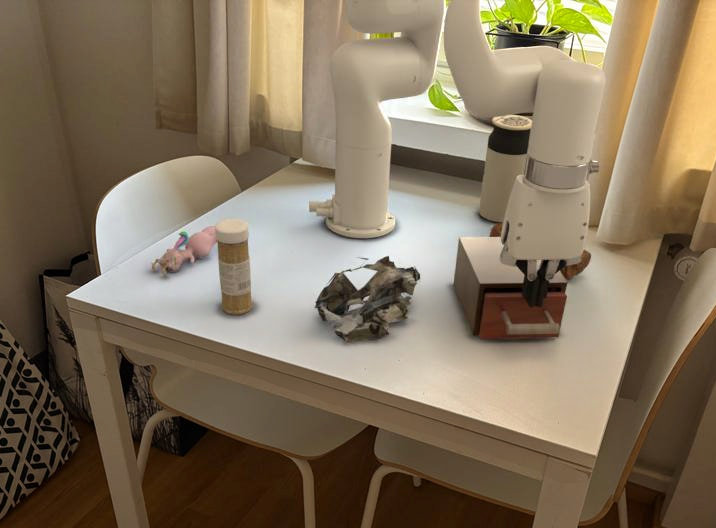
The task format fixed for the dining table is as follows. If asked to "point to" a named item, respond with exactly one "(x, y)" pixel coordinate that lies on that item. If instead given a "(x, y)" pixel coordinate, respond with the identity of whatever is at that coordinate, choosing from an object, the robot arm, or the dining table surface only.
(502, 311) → the drawer
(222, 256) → the sprinkles bottle
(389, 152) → the robot arm
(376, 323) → the foil
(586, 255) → the bread
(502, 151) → the travel mug
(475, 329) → the wooden drawer cabinet
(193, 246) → the rabbit figure
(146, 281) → the dining table surface
